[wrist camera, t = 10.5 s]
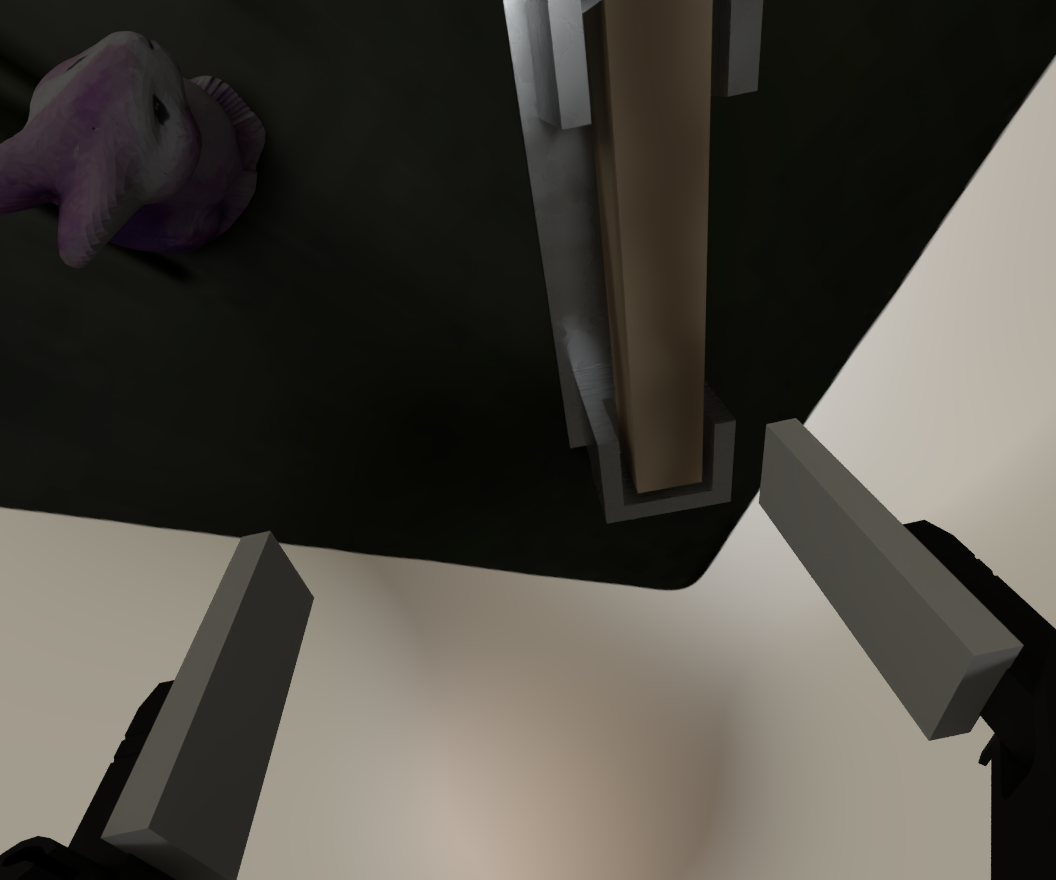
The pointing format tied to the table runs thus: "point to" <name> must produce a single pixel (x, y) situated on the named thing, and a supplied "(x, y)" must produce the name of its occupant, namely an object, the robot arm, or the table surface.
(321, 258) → the table surface
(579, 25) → the bracket stand
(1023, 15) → the table surface
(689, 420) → the rail
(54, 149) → the figurine
